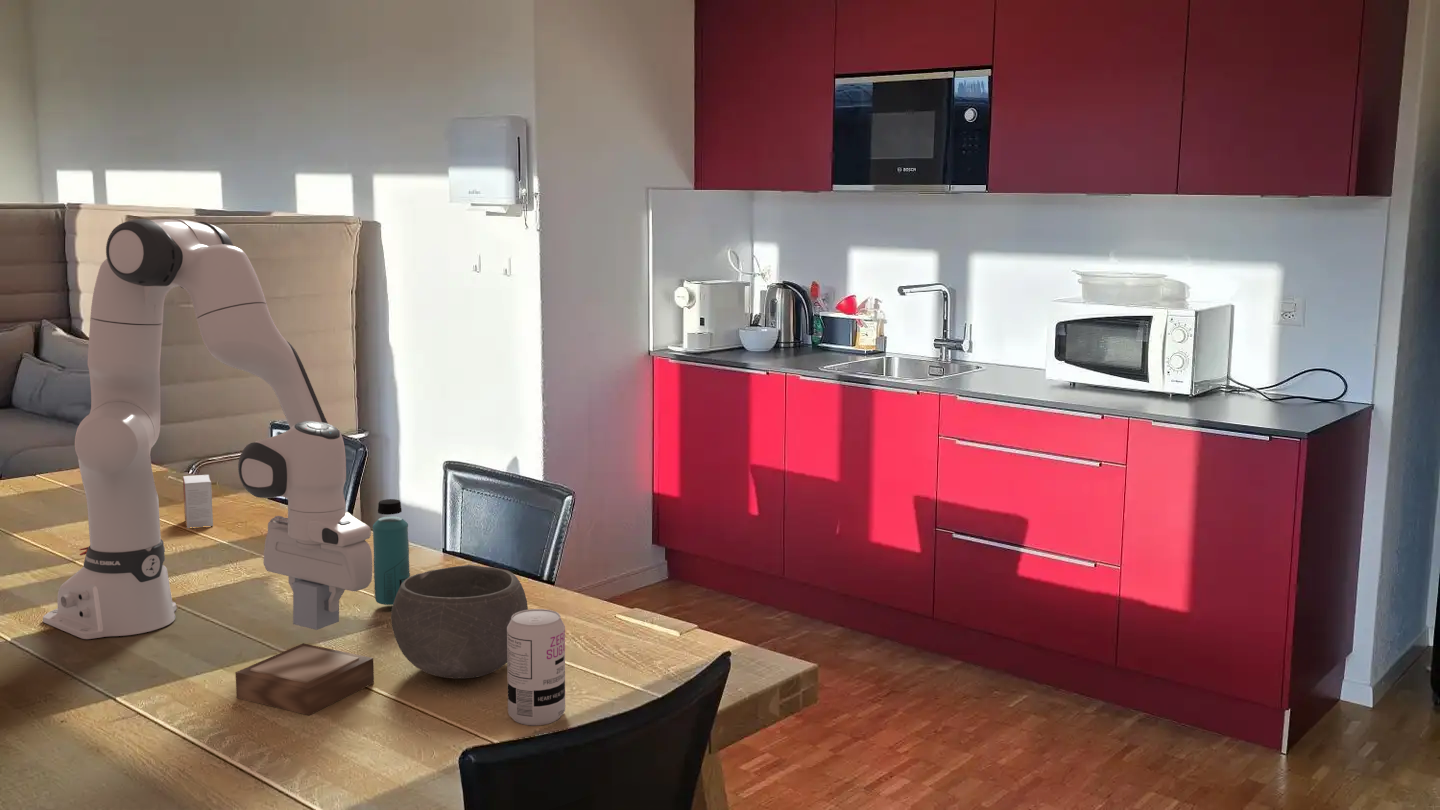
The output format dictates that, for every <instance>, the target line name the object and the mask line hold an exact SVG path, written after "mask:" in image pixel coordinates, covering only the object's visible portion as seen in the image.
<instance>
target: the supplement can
mask: <svg viewBox="0 0 1440 810" xmlns="http://www.w3.org/2000/svg"><path fill="white" fill-rule="evenodd" d="M506 666H507V670H506V671H507V673H506V674H507V676H506V677H507V713H508V716H509V717H510V718H512V721H515V723H517V724H521V725H525V726H543V725H549V724H552V723H554V722H556V721H558V720H559V719H560V718H561V716H563V715H564V713H565V712H566V626H565V624H564V622H563V620H562V617H561V614H560V613H559V612H557V611H556V610H555V611H554V610H552V609H545V608H533V609H532V608H531V609H528V610H523V611H520V612H517V613H515V614H513V615H512V617H511V621H510V623H509V624H508V626H507V663H506Z"/></svg>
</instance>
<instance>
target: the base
mask: <svg viewBox="0 0 1440 810" xmlns="http://www.w3.org/2000/svg"><path fill="white" fill-rule="evenodd" d="M374 669H375V668H374V657H370V656H365V655H361V654H357V653H350V652H345V651H342V650H338V649H337V650H336V649H333V648H327V647H322V646H318V645H314V644H308V643H301V644H298V645H296V646H293V647H292V648H289V649H287V650H285V651H282V652H280V653H277V654H275V655H273V656H270V657H267V658H266V659H263V660H261V661H259V662H256V663H254V664H252V665H249V666H247V667H244V668H242V669H240V670H237V671H236V672H235V692H236V698H237V699H241V700H245V701H249V702H251V703H256V704H260V705H263V706H264V705H265V706H269V707H273V708H277V709H281V710H285V711H288V712H289V711H290V712H295V713H298V714H302V715H305V716H306V715H307V716H311V715H313V714H315V713H317V712H319V711H320V710H323V709H325V708H326V707H328V706H330V705H333V704H335V703H336V702H337V703H338V702H339V701H340V700H343V699H345V698H347V697H349V696H351V695H353V694H354V693H357V692H358V691H360V690H363V689H364V688H366V687H368V686H370V685H373V684H374V683H375V677H374V676H375V675H374V674H375V672H374ZM372 683H373V684H372Z"/></svg>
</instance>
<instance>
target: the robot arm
mask: <svg viewBox="0 0 1440 810" xmlns="http://www.w3.org/2000/svg"><path fill="white" fill-rule="evenodd" d="M105 245H106V246H105V254H106V255H105V256H106V259H105V260H103V261H102V263H101V264H100V266H99V269H98V273H97V276H96V281H95V285H94V288H93V292H92V293H93V294H92V298H91V299H92V300H91V306H90V317H89V318H90V321H89V333H88V348H87V349H88V350H87V368H88V373H89V384H90V399H91V400H90V401H91V403H90V404H91V405H90V411H89V414H87V415H86V416H85V417H84V418H83V419H82V420H81V421H80V422H79V425H78V426H77V428H76V433H75V436H74V449H75V454H76V456H77V461H78V466H79V472H80V477H81V480H82V485H83V490H84V493H85V499H86V506H87V518H88V519H87V521H88V532H89V535H88V536H89V546H86V547H83V548H79V551H83V552H81V553H79V555H80V556H84V555H85V557H84V561H83V566H82V568H80V569H79V570H78V571H77V572H76V573H74V574H73V575H72V576H70V577H69V578H68V579H67V580H65V581H64V582H63V583H62V584H61V585H60V586H59V588H58V592H57V608H55V609H53V610H51V611H48V612H47V613H45V614H44V615H43V616H42V622H43V623H45V624H46V625H48V626H51V627H54V628H56V629H58V630H61V631H62V632H63V631H64V633H65V632H66V633H68V634H71V635H73V636H74V637H78V638H80V639H82V640H91V639H97V638H104V637H119V636H120V637H122V636H123V637H125V636H131V635H137V634H138V635H139V634H144V633H147V632H153V631H156V630H158V629H161V628H164V627H166V626H168V625H170V624H172V623H173V622H174V621H175V620H176V614H175V612H176V611H177V609H178V607H177V604H176V602H175V601H173V598H172V591H171V585H170V579H169V573H168V568H167V567H166V566H165V565H164V562H165V560H166V557H165V555H166V553H165V552H166V548H165V545H164V540H163V539H162V536H161V523H160V522H161V520H160V505H159V502H160V501H159V495H158V492H157V488H156V484H155V479H154V478H155V477H154V474H153V473H154V472H153V466H152V460H151V452H152V451H151V450H152V448H153V447H154V446H155V444H156V443H157V441H158V439H159V436H160V433H161V412H162V411H161V405H162V404H161V399H162V398H161V376H160V375H161V372H160V370H161V369H160V368H161V354H162V341H163V324H164V307H165V306H164V305H165V299H166V297H167V296H168V295H167V294H168V293H170V291H171V290H172V289H174V288H177V287H178V288H179V287H180V288H181V289H183V290H185V291H186V293H187V294H188V296H189V297H190V300H191V303H192V306H193V307H192V308H193V311H194V315H195V319H196V322H197V326H198V330H199V333H200V336H201V339H202V342H203V344H204V346H205V347H206V349H207V351H208V352H209V354H210V355H211V356H212V357H213V358H214V359H215V360H217V361H218V362H219V363H222V364H224V365H226V366H228V367H229V368H233V369H237V370H240V371H243V372H246V373H249V374H252V375H255V376H256V377H257V378H260V379H261V380H263V381H265V382H266V383H267V384H268V385H269V387H271V388H272V390H273V391H274V394H275V395H276V398H277V400H278V401H277V402H278V403H279V405H280V407H281V409H282V413H283V414H284V417H285V420H286V423H287V424H288V427H289V429H287V430H286V431H284V432H282V433H280V434H277V435H274V436H270V437H266V438H263V439H262V438H261V439H258V440H256V441H254V442H250V443H249V444H246V446H244V448H243V450H242V451H241V453H240V456H239V459H238V464H237V468H238V469H237V470H238V477H239V480H240V483H241V485H242V486H243V488H244V489H245V490H246V491H247V492H248V493H249V494H251V495H253V496H254V497H256V498H262V499H263V498H265V499H272V498H279V497H283V498H285V499H287V517H283V516H281V515H275V516H274V517H272V518H271V519H270V520H269V522H268V523H267V533H266V536H265V541H264V550H263V560H262V561H263V566H264V568H265V570H266V571H267V572H269V573H273V574H277V575H282V576H287V577H288V584H289V586H290V588H291V590H292V592H293V582H295V581H298V580H301V579H302V580H307V581H311V582H315V583H319V584H324V585H328V586H329V592H332V594H331V596H330V598H329V599H328V600H325V601H324V605H325V607H324V610H325V611H329V612H335V611H337V610H338V609H339V610H340V600H341V598H342V596H343V594H344V592H345V590H346V591H350V592H358V591H361V590H364V589H366V588H368V587H369V586H370V584H371V583H372V579H373V555H372V553H373V552H372V548H371V546H370V544H369V543H368V541H366V540H368V539H370V538H371V537H372V536H371V534H372V531H371V527H370V526H369V525H368V524H366V523H365V522H363V521H361V520H360V519H358V518H356V516H354V515H353V514H352V513H350V512H349V511H346V510H347V509H346V507H347V505H346V499H345V496H344V487H345V483H346V480H347V459H346V455H347V454H346V447H345V443H344V438H343V435H342V433H341V431H340V430H339V429H338V428H337V427H335V426H334V425H333V424H329V422H328V421H327V418H326V417H325V414H324V412H323V409H322V407H321V404H320V402H319V400H318V398H317V395H316V392H315V390H314V387H313V385H312V383H311V381H310V379H309V376H308V374H307V371H306V369H305V367H304V365H303V363H302V362H303V361H302V360H301V359H300V356H299V354H298V353H297V351H296V349H295V348H294V346H293V345H292V344H291V343H290V342H288V341H287V340H286V339H285V337H284V336H283V335H282V334H281V332H280V330H279V329H278V327H277V326H276V324H275V321H274V319H273V318H272V316H271V315H272V314H271V313H270V309H269V306H268V304H267V300H266V296H265V294H264V290H263V287H262V285H261V282H260V280H259V276H258V275H257V272H256V270H255V268H254V266H253V265H252V262H251V260H250V259H249V257H248V254H246V252H245V251H244V250H243V249H241V248H239V247H237V246H235V245H233V242H232V239H231V238H230V236H229V235H228V234H227V233H226V232H225V231H224V230H223V229H222V228H220V227H218V226H216V225H213V224H211V223H208V222H205V221H193V220H187V219H182V218H165V219H164V218H163V219H162V218H161V219H159V218H158V219H147V218H137V219H136V218H135V219H131V220H127V221H124V222H122V223H120V224H118V225H117V226H116V227H114V228H113V229H112V230H111V232H110V234H109V236H108V237H107V240H106V244H105Z"/></svg>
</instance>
